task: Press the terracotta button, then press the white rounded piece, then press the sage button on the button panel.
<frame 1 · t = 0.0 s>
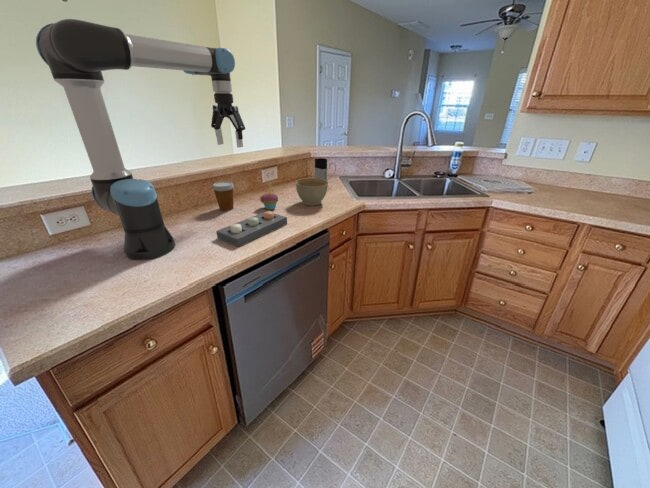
hand: (230, 145, 129), 28 cm above the counter, tool pointing down, fingers open, 13 cm apart
cupcake: (270, 208, 138), on the counter
button panel: (254, 230, 114), on the counter
terracotta button: (268, 216, 119), point 3 cm above the counter, slide at 0.0 cm
white rounded piece: (236, 230, 106), point 3 cm above the counter, slide at 0.0 cm
disposable coffee cup: (226, 209, 137), on the counter
sage button: (253, 223, 113), point 3 cm above the counter, slide at 0.0 cm
planter bowl: (312, 203, 145), on the counter
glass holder: (324, 184, 177), on the counter
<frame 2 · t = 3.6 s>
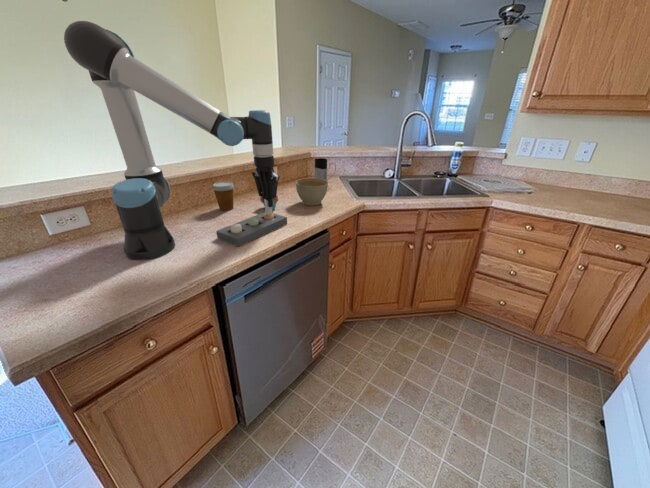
hand: (269, 213, 118), 5 cm above the counter, tool pointing down, fingers closed
terracotta button: (269, 218, 119), point 3 cm above the counter, slide at 0.7 cm, touching gripper
everything else where it was.
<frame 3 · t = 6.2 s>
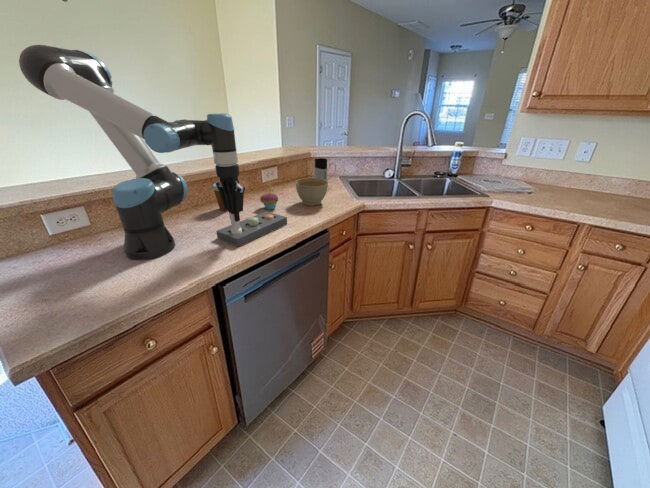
hand: (236, 228, 106), 4 cm above the counter, tool pointing down, fingers closed
terracotta button: (269, 219, 119), point 2 cm above the counter, slide at 1.4 cm
white rounded piece: (236, 233, 107), point 2 cm above the counter, slide at 1.3 cm
everything else where it was.
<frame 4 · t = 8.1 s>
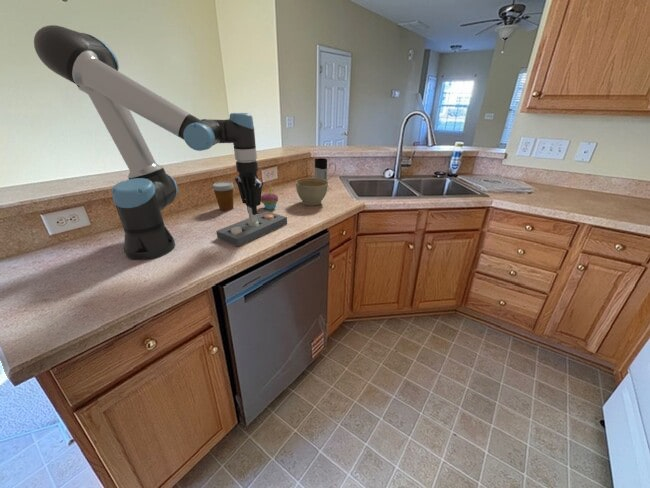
hand: (253, 221, 112), 4 cm above the counter, tool pointing down, fingers closed
sage button: (253, 226, 113), point 2 cm above the counter, slide at 1.4 cm, touching gripper
everything else where it was.
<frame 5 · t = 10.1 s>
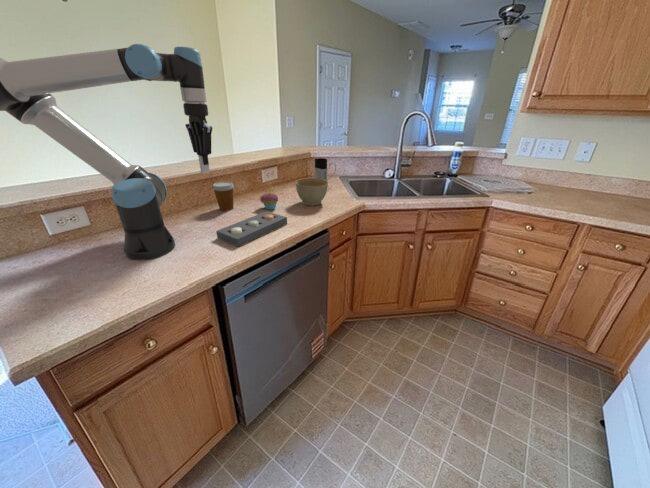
hand: (205, 173, 106), 22 cm above the counter, tool pointing down, fingers closed
sage button: (253, 226, 113), point 2 cm above the counter, slide at 1.4 cm
everything else where it was.
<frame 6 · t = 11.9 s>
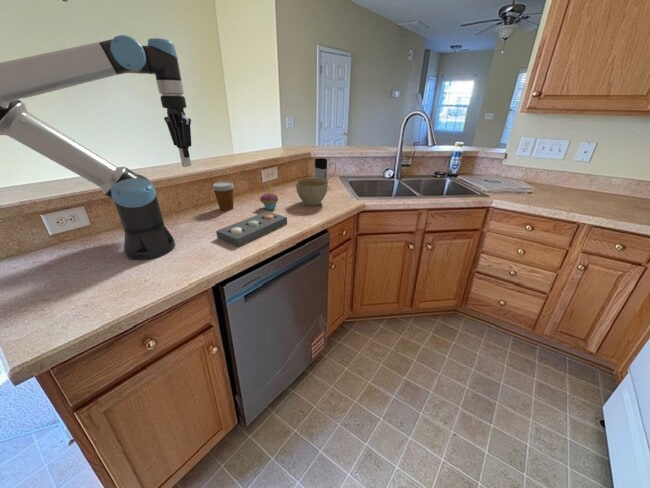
hand: (186, 166, 107), 24 cm above the counter, tool pointing down, fingers closed
nothing on the counter moved.
at the end: terracotta button slide at 1.4 cm; white rounded piece slide at 1.4 cm; sage button slide at 1.4 cm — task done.
